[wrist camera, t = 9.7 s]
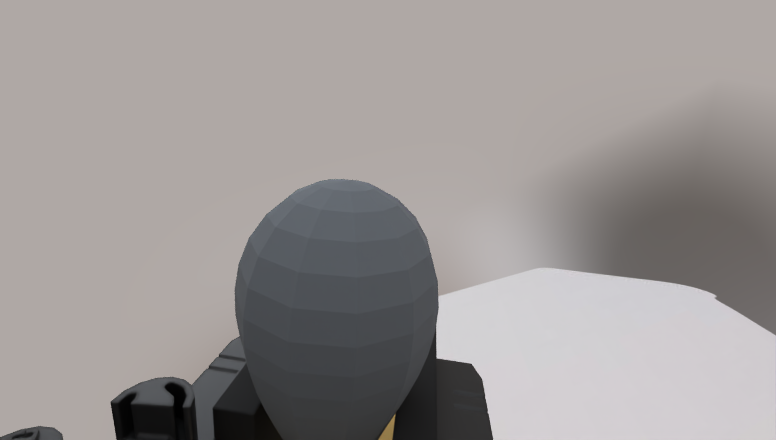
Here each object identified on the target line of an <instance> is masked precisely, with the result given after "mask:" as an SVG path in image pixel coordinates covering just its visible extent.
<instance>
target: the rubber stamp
mask: <svg viewBox="0 0 776 440" xmlns="http://www.w3.org/2000/svg"><path fill="white" fill-rule="evenodd" d="M438 308H439V306H438V281H437V277H436V273H435V269H434V265H433V261H432V257H431V253H430V249H429V245H428V241H427V238H426V236H425V234H424V232H423V230H422V228H421V227H420V225H419V223H418V221H417V219H416V217H415V216H414V215H413V214H412V213H411V212H410V211H409V210H408V209H407V208H406V207H405V206H404V205H403V204H402V203H401V202H400V201H399V200H398V199H397V198H395V197H393V196H392V195H390V194H388V193H386V192H384V191H383V190H381V189H379V188H377V187H375V186H373V185H371V184H369V183H365V182H361V181H356V180H345V179H336V180H335V179H334V180H333V179H332V180H331V179H330V180H324V181H319V182H316V183H314V184H311V185H309V186H306V187H303V188H301V189H298V190H297V191H295V192H294V193H293V194H291V195H290V196H289V197H288V198H286V199H285V200H284V201H283V202H282V203H280V204H279V205H278V206H277V207H275V208H274V209H273V210H271V211H270V212H269V213H268V214H266V216H265V217H264V218H263V220H262V221H261V222H260V224H259V225H258V227H257V228H256V229H255V231H254V232H253V234H252V235H251V236H250V237H249V240H248V242H247V245H246V247H245V250H244V252H243V255H242V257H241V260H240V262H239V267H238V272H237V279H236V286H235V311H236V319H237V324H238V329H239V334H240V339H241V343H242V347H243V351H244V355H245V359H246V362H247V366H248V370H249V373H250V376H251V379H252V382H253V384H254V387H255V390H256V393H257V395H258V397H259V399H260V401H261V403H262V405H263V407H264V409H265V411H266V413H267V414H268V416H269V418H270V420H271V421H272V423H273V425H274V426H275V428H276V430H277V431H278V433H279V434H280V436H281V438H282V439H283V440H392V438H393V430H394V422H395V414H396V411H397V410H398V409H399V407H400V406H401V404H402V403H403V401H404V400H405V398H406V397H407V395H408V394H409V392H410V390H411V388H412V387H413V385H414V383H415V381H416V380H417V378H418V376H419V374H420V372H421V370H422V367H423V365H424V363H425V361H426V359H427V356H428V354H429V350H430V347H431V344H432V341H433V337H434V334H435V329H436V322H437V315H438Z"/></svg>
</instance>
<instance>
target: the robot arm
mask: <svg viewBox="0 0 776 440" xmlns="http://www.w3.org/2000/svg"><path fill="white" fill-rule="evenodd" d="M111 408H112V414H113V420H114V426H115V432H116V439H117V440H283V439H282V438H281V436H280V434H279V433H278V431H277V430H276V428H275V426H274V425H273V423H272V421H271V420H270V418H269V416H268V414H267V413H266V411H265V409H264V407H263V405H262V403H261V401H260V399H259V397H258V395H257V393H256V390H255V387H254V384H253V382H252V379H251V376H250V373H249V370H248V366H247V362H246V359H245V355H244V351H243V347H242V343H241V339H240V336H239V337H238V338H236V339H234V340H232V341H231V342H230V343H229V344H228V345H227V346H226V348H225V349H224V350H223V351H222V352H221V353H220V354H219V357H217V358H216V359H215V360H214V361H213V362H212V363H211V364H210V366H209V368H208V369H206V370H205V371H204V372H203V373H202V374H201V375H200V377H199V378H198V379H197V380H196V381H195V382H194V383H193V384H192V385H191V384H189V383H188V382H187V381H186V380H184V379H179V378H175V377H163V378H155V379H151V380H148V381H145V382H141V383H139V384H137V385H135V386H133V387H131V388H129V389H127V390H125V391H123V392H122V393H121V394H120V395H118V396H117V397H116V398H115V399H113V400H112V401H111ZM0 440H63V436H62V434H61V433H60V432H59V431H58V430H56V429H55V428H52V427H42V426H38V427H33V428H27V429H21V430H19V431H16V432H13V433H10V434H7V435H5V436H2V437H0ZM392 440H493V436H492V431H491V425H490V420H489V414H488V409H487V404H486V399H485V393H484V387H483V382H482V378H481V377H480V376H479V374H478V373H477V371H476V370H475V368H474V367H473V366H472V364H469V363H462V362H456V361H449V360H443V359H436V329H435V334H434V337H433V341H432V344H431V347H430V350H429V354H428V356H427V359H426V361H425V363H424V365H423V367H422V370H421V372H420V374H419V376H418V378H417V380H416V381H415V383H414V385H413V387H412V388H411V390H410V392H409V394H408V395H407V397H406V398H405V400H404V401H403V403H402V404H401V406H400V407H399V409H398V410H397V411H396V414H395V422H394V430H393V438H392Z"/></svg>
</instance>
